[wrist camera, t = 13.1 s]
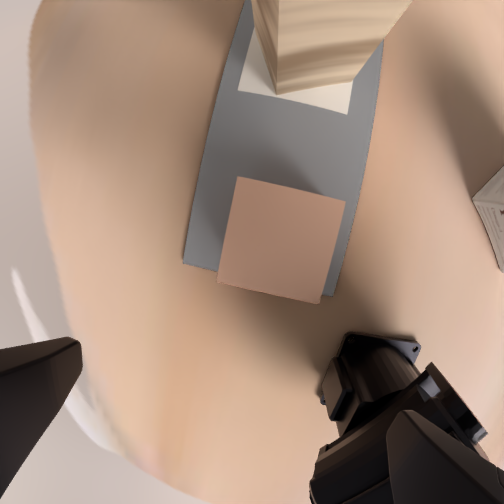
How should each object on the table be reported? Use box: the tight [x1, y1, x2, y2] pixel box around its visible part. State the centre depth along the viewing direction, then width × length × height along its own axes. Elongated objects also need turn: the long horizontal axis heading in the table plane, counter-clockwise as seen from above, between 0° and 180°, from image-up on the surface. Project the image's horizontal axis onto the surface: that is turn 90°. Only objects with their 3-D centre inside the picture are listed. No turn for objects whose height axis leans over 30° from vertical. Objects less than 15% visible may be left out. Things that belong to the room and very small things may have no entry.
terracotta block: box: [216, 176, 346, 304], centre depth 16 cm, size 5×5×5 cm
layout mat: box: [183, 0, 384, 297], centre depth 17 cm, size 10×20×1 cm, turn 168°
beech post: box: [251, 0, 413, 95], centre depth 10 cm, size 5×5×13 cm
